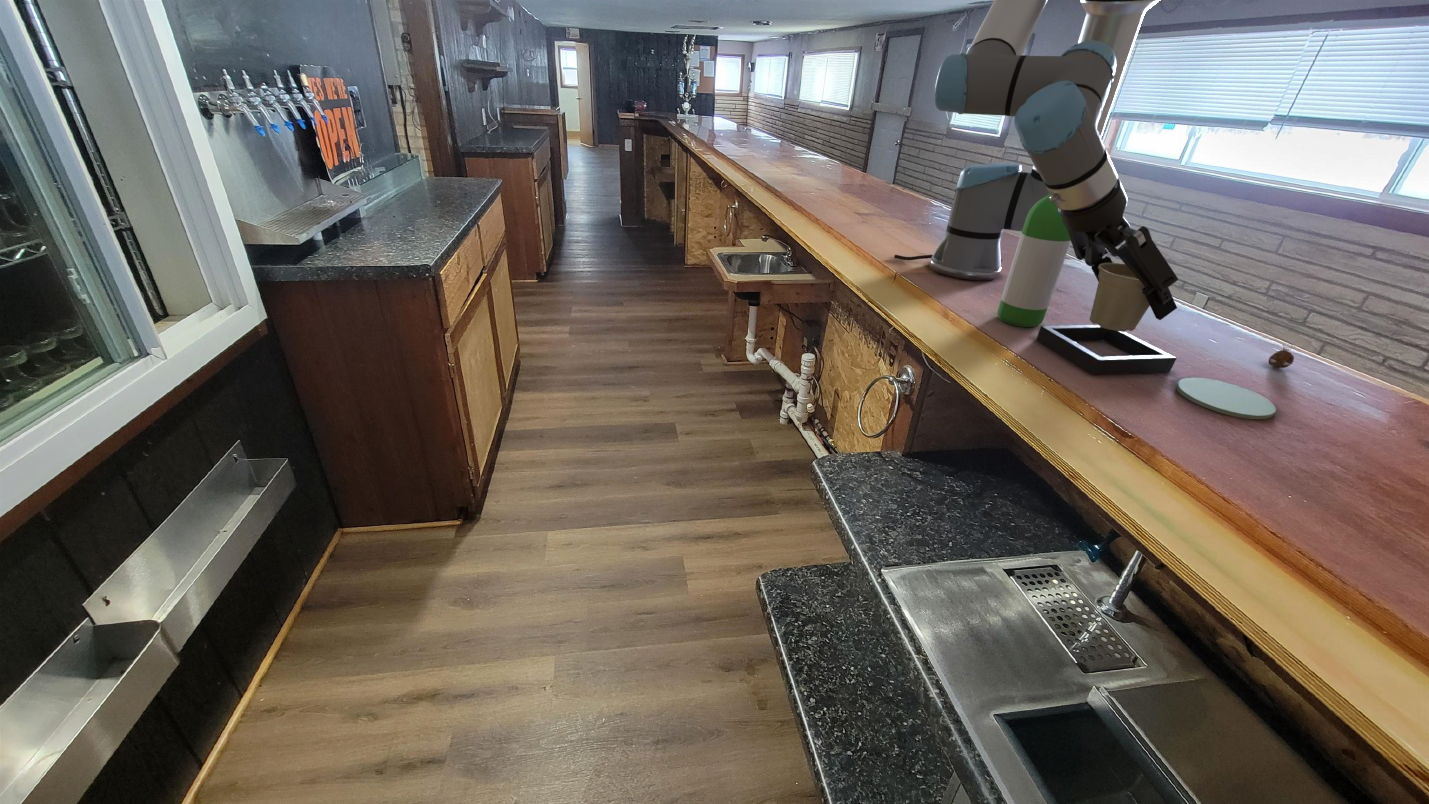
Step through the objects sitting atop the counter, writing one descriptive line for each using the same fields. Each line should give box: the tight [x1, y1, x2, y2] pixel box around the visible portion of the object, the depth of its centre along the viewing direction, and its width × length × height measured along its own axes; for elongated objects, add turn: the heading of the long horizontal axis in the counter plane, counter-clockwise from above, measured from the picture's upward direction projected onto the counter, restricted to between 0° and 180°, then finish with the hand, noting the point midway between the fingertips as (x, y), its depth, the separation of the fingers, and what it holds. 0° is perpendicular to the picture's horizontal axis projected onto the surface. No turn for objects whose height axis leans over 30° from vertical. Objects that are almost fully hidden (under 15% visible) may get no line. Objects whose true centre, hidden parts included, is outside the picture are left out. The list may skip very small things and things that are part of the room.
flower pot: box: [1089, 262, 1150, 332], centre depth 87 cm, size 9×9×9 cm
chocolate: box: [1267, 343, 1297, 369], centre depth 89 cm, size 3×2×4 cm
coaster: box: [1175, 377, 1277, 420], centre depth 79 cm, size 11×11×1 cm
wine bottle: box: [997, 193, 1072, 328], centre depth 96 cm, size 8×8×30 cm
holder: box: [1035, 324, 1177, 376], centre depth 91 cm, size 13×13×2 cm
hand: (1139, 301), depth 88 cm, fingers closed on flower pot, 9 cm apart
